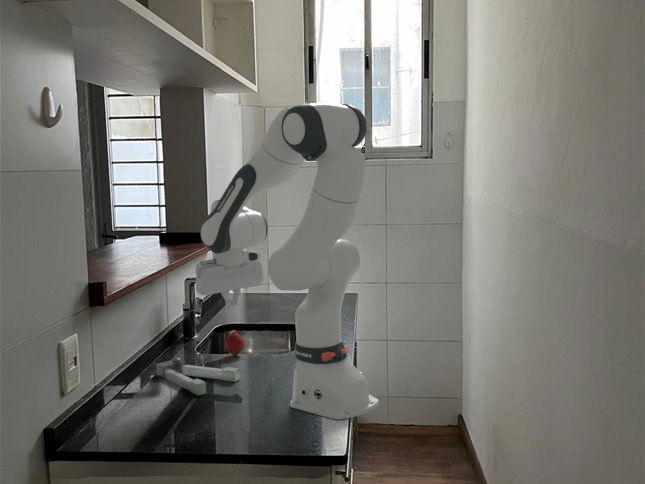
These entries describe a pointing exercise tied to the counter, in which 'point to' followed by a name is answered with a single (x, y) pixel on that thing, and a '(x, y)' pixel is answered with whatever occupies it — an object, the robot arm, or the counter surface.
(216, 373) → the tong arm
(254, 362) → the counter surface
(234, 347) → the onion
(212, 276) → the robot arm
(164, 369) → the tong base
